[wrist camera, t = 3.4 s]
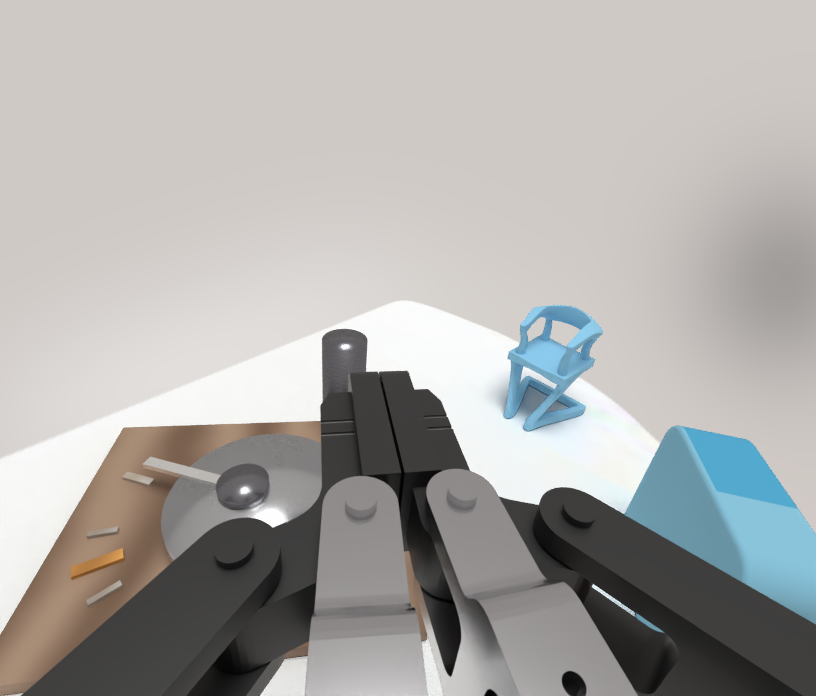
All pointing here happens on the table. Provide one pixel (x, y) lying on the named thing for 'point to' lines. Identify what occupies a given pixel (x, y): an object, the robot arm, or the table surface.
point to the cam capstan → (255, 466)
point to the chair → (551, 364)
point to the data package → (729, 515)
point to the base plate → (117, 547)
